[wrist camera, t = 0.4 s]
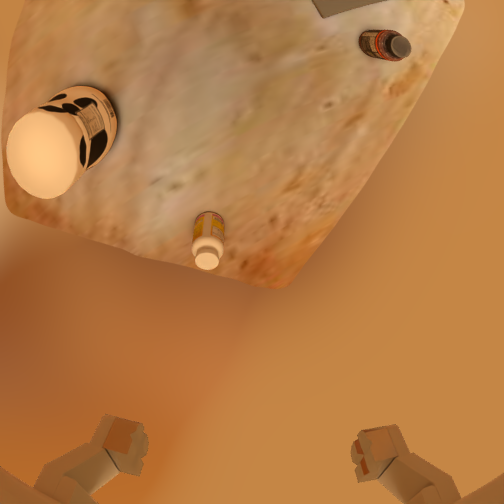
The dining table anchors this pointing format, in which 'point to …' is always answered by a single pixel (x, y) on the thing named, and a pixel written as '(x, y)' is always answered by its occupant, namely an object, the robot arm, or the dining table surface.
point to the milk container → (61, 140)
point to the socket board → (339, 5)
